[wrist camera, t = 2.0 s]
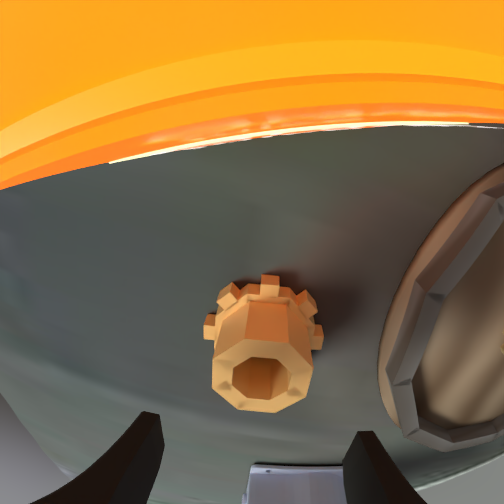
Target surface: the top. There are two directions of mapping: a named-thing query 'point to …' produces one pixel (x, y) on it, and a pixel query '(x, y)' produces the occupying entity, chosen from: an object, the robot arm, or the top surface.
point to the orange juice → (233, 73)
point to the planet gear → (263, 345)
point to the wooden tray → (450, 328)
